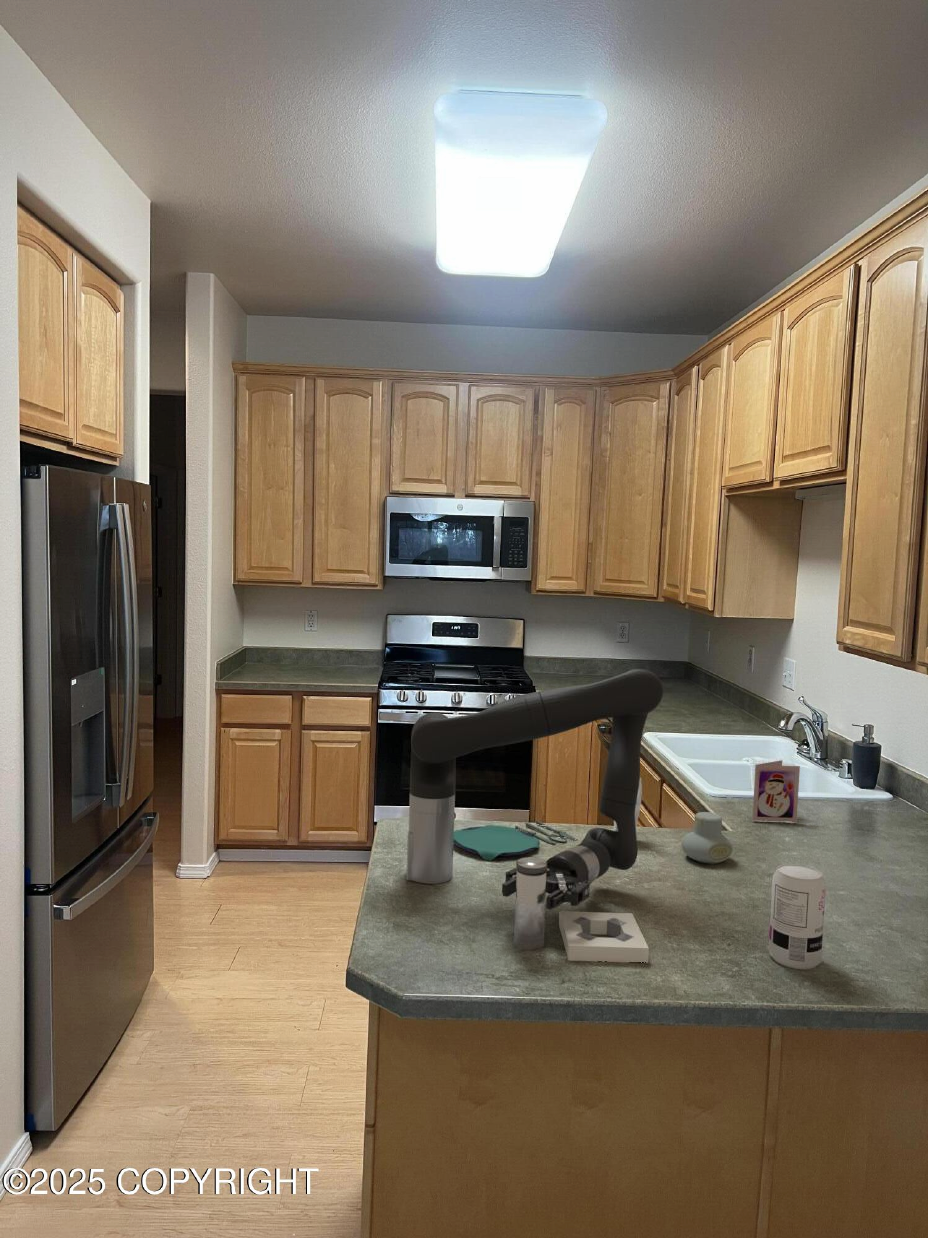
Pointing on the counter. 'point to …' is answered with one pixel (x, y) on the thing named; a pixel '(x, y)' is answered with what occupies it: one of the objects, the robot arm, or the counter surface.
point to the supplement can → (797, 916)
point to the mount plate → (590, 948)
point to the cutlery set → (503, 840)
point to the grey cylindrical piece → (530, 903)
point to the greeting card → (776, 792)
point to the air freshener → (707, 840)
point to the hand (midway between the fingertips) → (525, 897)
